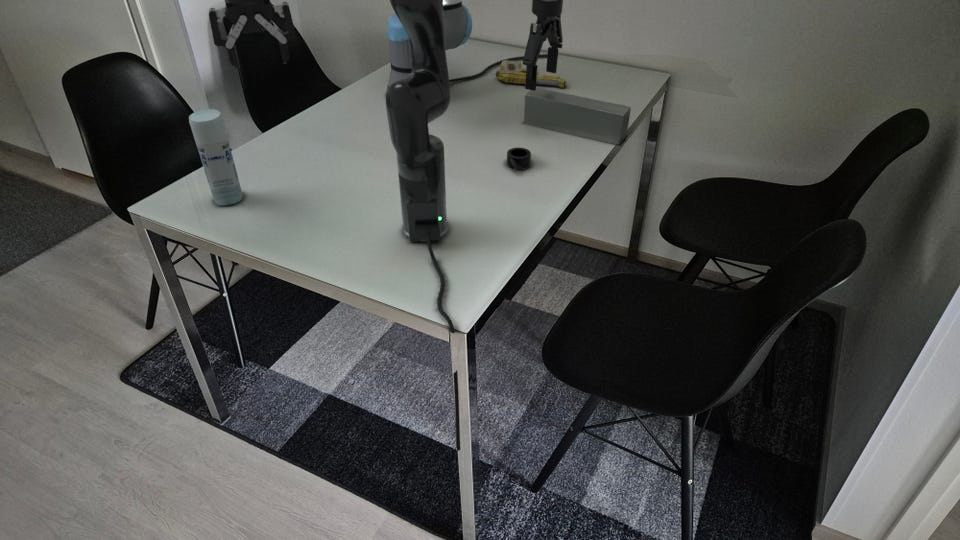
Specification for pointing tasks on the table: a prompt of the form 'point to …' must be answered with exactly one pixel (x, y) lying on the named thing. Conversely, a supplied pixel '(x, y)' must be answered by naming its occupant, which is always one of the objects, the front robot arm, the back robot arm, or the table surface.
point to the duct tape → (518, 158)
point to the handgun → (517, 75)
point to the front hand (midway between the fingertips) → (261, 64)
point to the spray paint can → (216, 156)
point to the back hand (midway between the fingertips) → (541, 80)
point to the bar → (577, 115)
